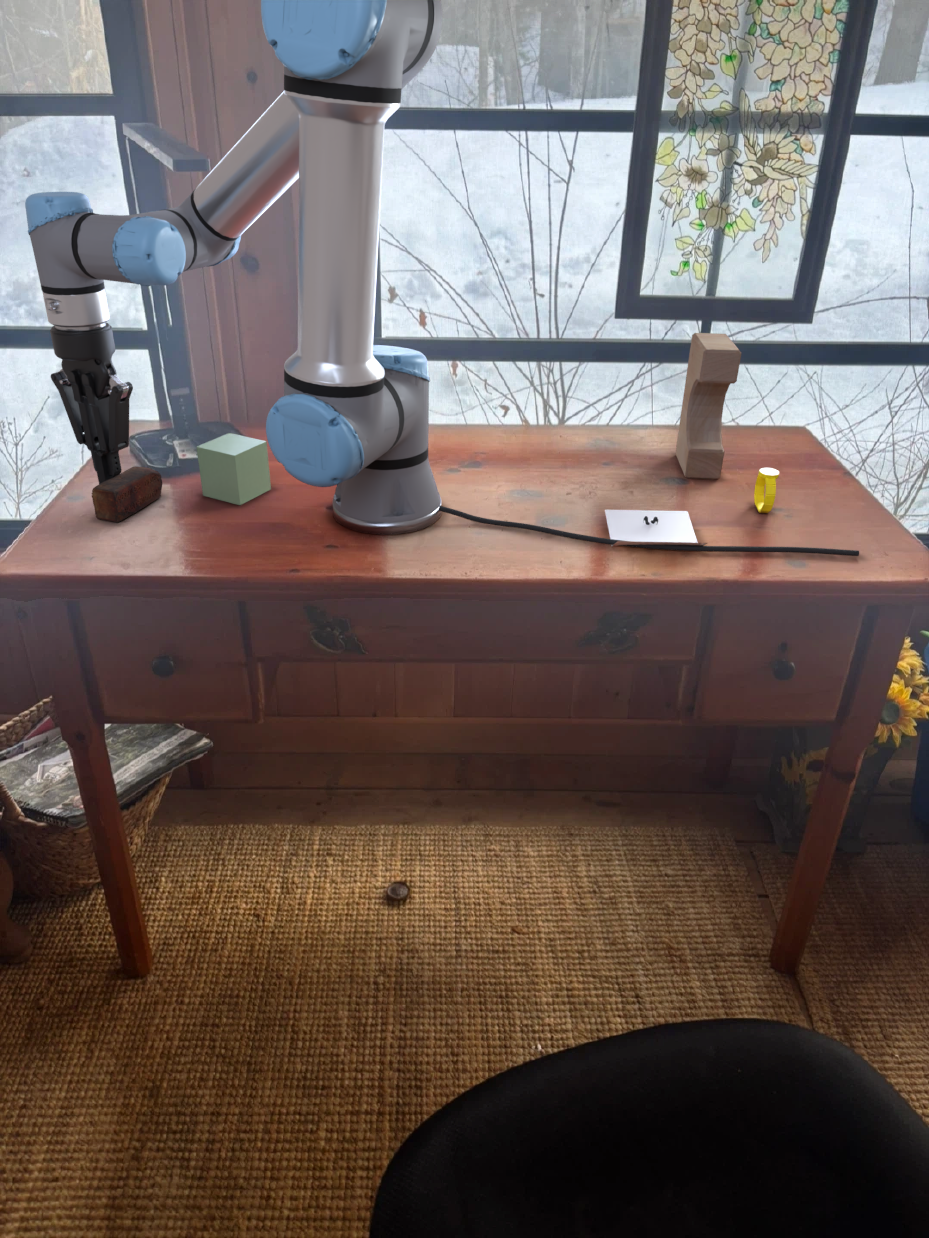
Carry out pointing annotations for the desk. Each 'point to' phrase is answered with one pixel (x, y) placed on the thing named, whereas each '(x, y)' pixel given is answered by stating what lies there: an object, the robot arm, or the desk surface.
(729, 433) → the desk surface
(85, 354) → the robot arm
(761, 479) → the watch
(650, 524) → the folded paper
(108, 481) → the brick
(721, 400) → the decorative block
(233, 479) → the green block
